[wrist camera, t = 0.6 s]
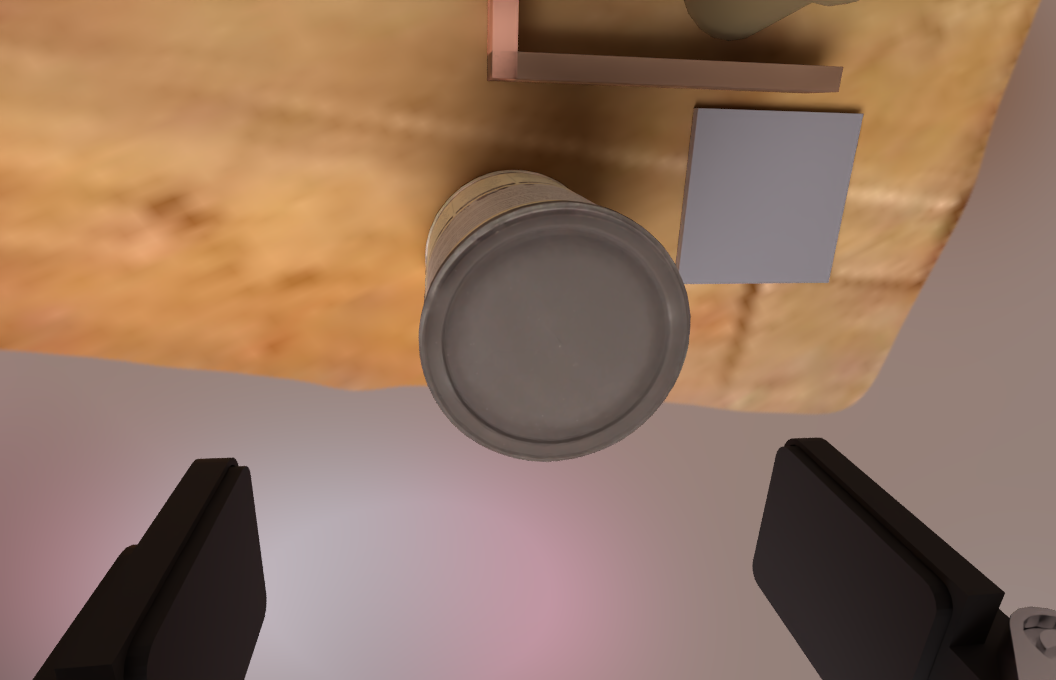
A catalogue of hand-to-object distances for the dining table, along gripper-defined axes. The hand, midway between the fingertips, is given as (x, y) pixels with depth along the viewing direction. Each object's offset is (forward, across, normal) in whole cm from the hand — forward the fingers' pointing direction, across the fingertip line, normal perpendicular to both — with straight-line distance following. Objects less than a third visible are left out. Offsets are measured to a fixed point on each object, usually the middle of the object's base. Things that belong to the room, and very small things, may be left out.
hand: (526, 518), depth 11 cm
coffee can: (+26, -3, +1) cm, 27 cm away
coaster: (+26, -18, -2) cm, 32 cm away
